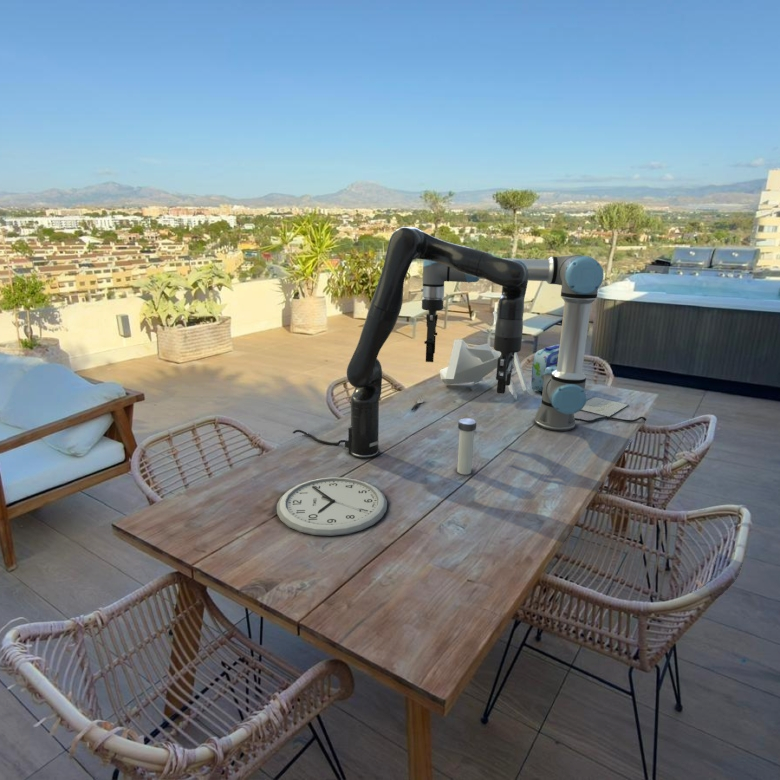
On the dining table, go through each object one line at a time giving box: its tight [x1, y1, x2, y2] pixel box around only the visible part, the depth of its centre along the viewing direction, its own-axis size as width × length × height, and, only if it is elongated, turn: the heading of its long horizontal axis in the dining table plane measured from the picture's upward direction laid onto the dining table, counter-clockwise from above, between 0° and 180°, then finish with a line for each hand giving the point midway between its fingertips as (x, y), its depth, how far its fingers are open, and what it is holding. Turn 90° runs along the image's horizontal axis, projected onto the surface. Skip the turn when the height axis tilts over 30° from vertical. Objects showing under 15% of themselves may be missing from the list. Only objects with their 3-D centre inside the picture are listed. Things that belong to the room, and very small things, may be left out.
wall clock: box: [276, 476, 388, 537], centre depth 142 cm, size 30×2×30 cm
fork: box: [410, 395, 426, 411], centre depth 223 cm, size 3×16×2 cm, turn 160°
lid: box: [457, 417, 477, 432], centre depth 159 cm, size 5×5×2 cm
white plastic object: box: [438, 310, 531, 400], centre depth 245 cm, size 37×45×31 cm
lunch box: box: [530, 344, 560, 393], centre depth 247 cm, size 26×11×21 cm, turn 134°
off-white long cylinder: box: [456, 429, 475, 476], centre depth 162 cm, size 4×4×16 cm
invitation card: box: [580, 396, 629, 417], centre depth 226 cm, size 21×1×15 cm
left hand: (503, 388), depth 151 cm, fingers open, 8 cm apart
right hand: (430, 357), depth 190 cm, fingers open, 13 cm apart
